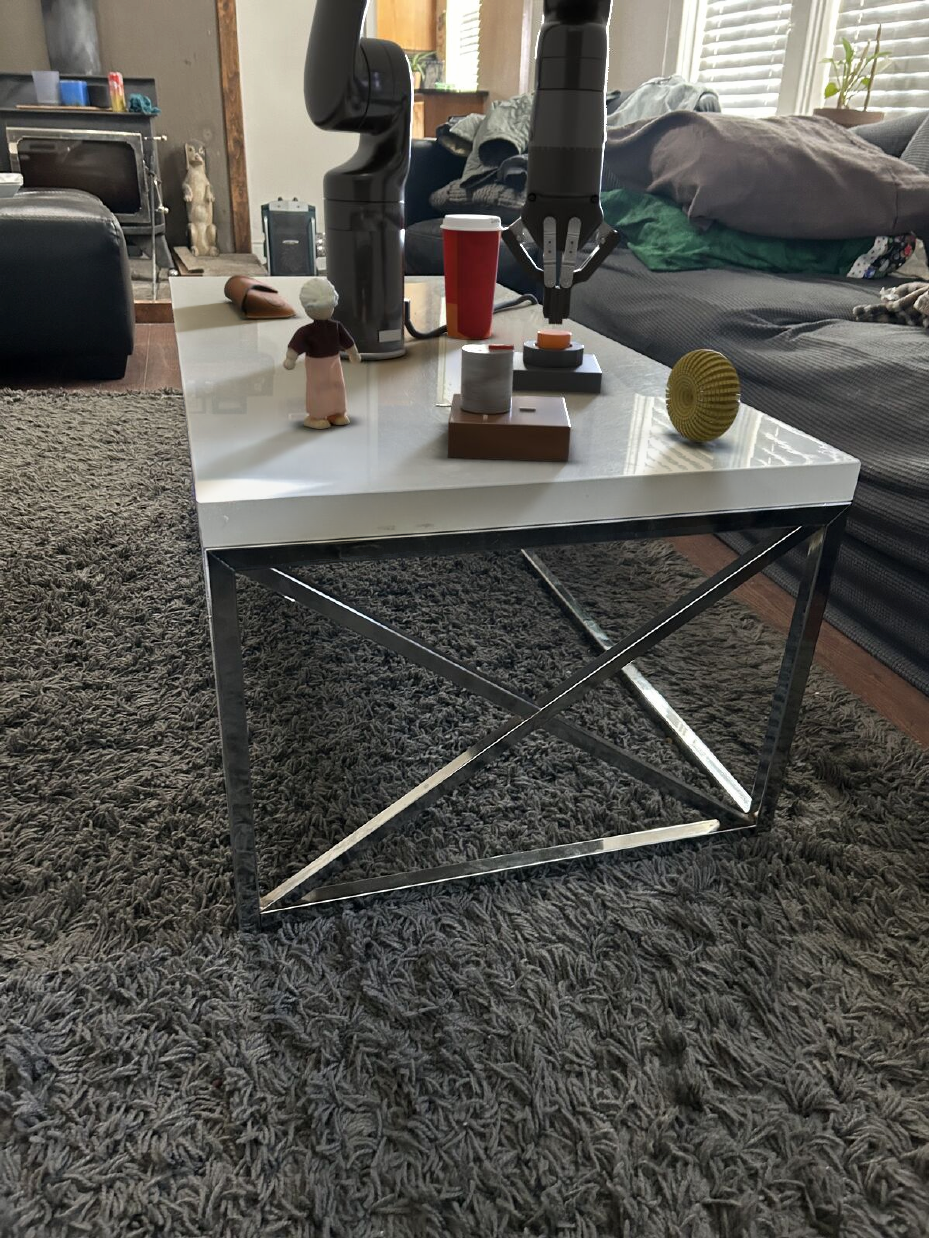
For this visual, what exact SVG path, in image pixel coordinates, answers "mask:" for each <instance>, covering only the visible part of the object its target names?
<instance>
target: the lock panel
mask: <svg viewBox="0 0 929 1238" xmlns="http://www.w3.org/2000/svg"><path fill="white" fill-rule="evenodd" d="M460 400H461V393H453V396H452V401H451V404H449V403H444V404H443V403H436V404H435V407H436V408H450V411H449V416H448V420H447V421H448V422H447V425H448V426H447V458H459V459H484V460H485V459H487V460H511V461H512V460H513V461H537V462H539V461H540V462H541V461H542V462H569V456H570V455H569V454H570V443H571V429H572V427H571V422H570V419H569V414H568V411H567V405H566V402H565V398H564V397H561V396H559V397H558V396H557V397H556V396H531V395H512V405H511V410H509V411H507V412H504V413H497V414H481V413H473V412H469V411H465V410H463V409H462V408H461V407H460Z"/></svg>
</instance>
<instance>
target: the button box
mask: <svg viewBox="0 0 929 1238" xmlns="http://www.w3.org/2000/svg"><path fill="white" fill-rule="evenodd" d="M584 349H585V347H584V345H583V344H582V343H579V342H575V341H571V340H570V348H563V349H552V348H543V347H538V346H537V339H531V340H528V341H524V342H523V346H522V351H514V364H513V385H512V391H522V392H523V391H525V392H553V393H577V394H578V393H579V394H582V393H583V394H584V393H585V394H601V392H602V391H601V390H602V379H603V373H602V369H601V368H600V365H599V363H598V361H597V359H596V356H595V354H593V353H584V351H585V350H584Z"/></svg>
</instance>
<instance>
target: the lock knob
mask: <svg viewBox="0 0 929 1238" xmlns="http://www.w3.org/2000/svg"><path fill="white" fill-rule="evenodd" d="M514 352H515V344H505V343H504V344H503V343H502V344H501V343H486V342H485V343H482V342H481V343H480V342H479V343H469V344H465V345H463V346H462V347H461V365H460V394H461V400H460V407H461V408H462V409H463V410H465V411H469V412H473V413H481V414H497V413H504V412H507V411H509V410H511V405H512V396H513V390H512V385H513V364H514Z"/></svg>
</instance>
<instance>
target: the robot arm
mask: <svg viewBox="0 0 929 1238" xmlns="http://www.w3.org/2000/svg"><path fill="white" fill-rule="evenodd" d="M542 1H543V2H542V5H543V6H542V23H541V27H540V29H539V32H538V35H537V40H536V46H535V57H534V58H535V60H534V63H535V64H534V82H533V90H534V91H533V95H532V102H531V109H530V115H529V126H528V127H529V130H528V132H527V133H528V134H527V138H528V147H527V148H528V150H527V151H528V153H527V170H526V189H525V191H526V192H525V200H524V204H523V206H522V207H521V209H520V214H519V215H520V216H519V217H518V219H516V220H515V221H514V222H513V223H512V224H510V225H509V226H508V227H503V230H501V233H500V239H501V240H502V241H503V242H504V244H505V246H506V247H507V249H508V250H509V251H510V253H511V255H512V257H514V259H515V260H516V262H517V264H518V265H519V267H520V268H521V270H522V271H523V272H524V274H525V275H526V277H527V278H528V280H530V281H532V282H535V283H536V282H537V283H539V284H541V285H542V288H543V293H542V294H543V295H542V316H543V318H544V319H548V321H547V323H548V325H560V326H561V325H562V326H563V323H564V322H563V321H564V320H568V318H569V316H570V311H571V297H572V289H573V287H574V286H576V285H578V284H581V283H586V282H588V281H589V279H591V277H592V276H593V275H594V274H595V272H596V271H597V270H598V269H599V268H600V266H601V265H603V263H604V262H605V261H606V259H607V258H608V257H609V256H610V255H611V253H612V252H613V251H614V250H615V249H616V247H617V246H618V245H619V244H620V243H621V242H622V235H621V234H620V232H618V231H617V230H615V229H613V228H612V227H611V226H610V225H609V224H608V223H606V221H604V218H605V217H604V216H605V215H604V214H605V213H604V211H603V209H602V206H601V189H602V179H603V177H602V176H603V163H604V151H605V143H606V141H607V132H606V126H607V125H606V124H607V108H606V107H607V105H606V92H607V82H608V81H607V80H608V69H609V68H608V67H609V51H610V50H609V49H610V48H609V45H610V44H609V42H610V41H609V39H610V38H609V25H610V19H611V13H612V6H613V0H542ZM369 4H370V0H316V2H315V7H314V12H313V18H312V22H311V27H310V32H309V38H308V42H307V48H306V53H305V60H304V61H305V62H304V68H303V96H304V104H305V109H306V113H307V115H308V118H309V119H310V121H311V122H312V124H313V125H314V126H315V127H316V128H317V129H319V130H320V131H321V130H322V131H326V132H329V133H343V134H359V139H358V140H359V141H358V147H357V149H356V151H355V152H354V154H352V156H351V157H350V158H349V159H347V160H346V161H345V162H343V163H342V164H340V165H337V166H335V167H333V168H331V169H328V171H326V172H325V174H324V175H323V180H322V190H323V191H322V192H323V221H324V223H323V224H324V245H325V246H324V247H325V273H326V274H325V277H326V278H325V279H327V280H328V281H329V282H330V283H331V284H332V285H333V286H334V290H335V291H336V292H337V294H338V299H337V303H338V305H336V306H335V307H334V310H333V313H332V315H331V317H330V318H329V319H328V320H333V321H338V322H340V323H341V324H342V326H343V327H344V328H345V329H346V331H347V332H348V333H349V335H350V336H351V337H352V339H353V340H354V343H355V346H356V348H357V353H358V354H359V355H360V357H361V361H362V360H363V361H364V360H365V361H372V360H373V361H374V360H375V361H377V360H389V359H394V358H399V357H402V356H404V355H405V354H406V344H405V329H406V331H407V332H408V334H409V335H410V336H411V337H412V338H413V339H416V340H427V339H434V338H437V337H440V336H442V335H443V334H447V325H446V324H443V325H441V326H439V327H437V328H435V329H433V330H431V331H427V332H422V331H419V330H417V329H416V328H415V327H414V325H413V323H412V320H411V298H405V192H406V191H405V188H406V185H407V181H408V178H409V173H410V168H411V146H412V129H413V128H412V127H413V110H414V109H413V108H414V107H413V106H414V84H413V73H412V68H411V64H410V61H409V59H408V56H407V54H406V52H405V50H404V49H403V48H402V46H401V45H400V44H398V43H397V42H395V41H394V40H393V41H392V40H389V39H384V38H376V37H375V38H374V37H364V36H362V33H363V28H364V24H365V19H366V15H367V11H368V7H369ZM524 228H525V229H526V231H527V232H528V234H529V236H530V237H531V239H532V240H533V242H534V244H535V245H536V247H537V248H538V249H539V250H541V251H542V264H543V265H542V266H543V269H542V268H540V267H537V266H536V264H535V262H534V261H533V259H532V258H531V256H530V255H529V254H528V252H527V250H526V249H525V248H524V246H523V243H524V241H525V234H524ZM597 231H598V233H597V235H596V237H595V243H596V244H597V246H596V247H595V248H594V250H593V251H592V252H591V253H590V254H589V256H588V257H587V258H586V260H585V261H584V262H583V263H582V264H581V265H580V266H579V268H578V269H575V265H576V259H577V252H579V251H581V250H582V249H583V248H584V247H585V246H586V245H587V243H588V242H589V241H590V239H591V238H592V236H593V235H594V234H595V233H596V232H597ZM557 252H562V256H561V264H560V270H559V271H560V272H559V279H558V281H559V283H558V285H557V268H556V267H557ZM527 301H529V302H530V303H531V304H532V305H539V302H538V299H537V298H536V297H535V296H534V295H533V294H531V293H525V294H523V295H521V296H519V297H517V298H515V299H511V300H506V301H501V302H498V303H494V309H493V313H494V312H496V311H500V310H504V309H508V308H512V307H517V306H519V305H521V304H522V303H524V302H527ZM339 355H340V359H348V360H350V357H349V356H348V355H347V353H346V351H345V349H344V348H342V347H340V346H339Z"/></svg>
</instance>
